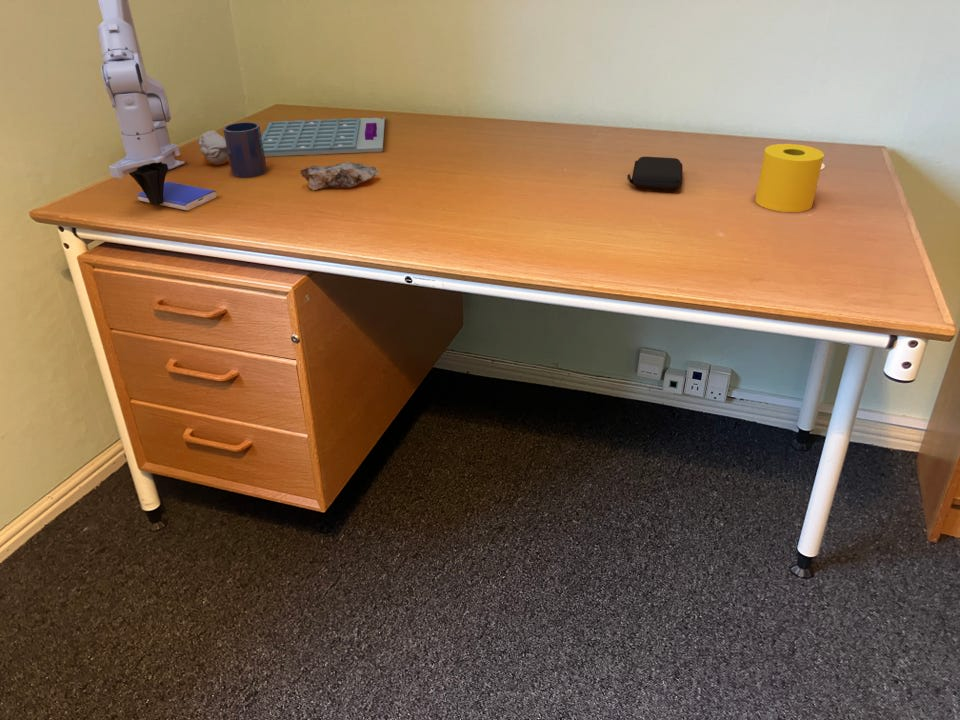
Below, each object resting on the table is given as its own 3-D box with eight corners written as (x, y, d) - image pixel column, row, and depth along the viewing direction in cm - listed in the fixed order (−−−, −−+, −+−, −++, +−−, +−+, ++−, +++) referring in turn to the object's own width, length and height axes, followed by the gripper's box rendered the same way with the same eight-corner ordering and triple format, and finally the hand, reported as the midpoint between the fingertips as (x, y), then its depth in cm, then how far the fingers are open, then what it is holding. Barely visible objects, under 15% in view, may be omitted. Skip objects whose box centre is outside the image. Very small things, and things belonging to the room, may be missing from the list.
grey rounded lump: (219, 157, 168) (212, 126, 164) (239, 163, 165) (233, 131, 161) (196, 164, 164) (189, 132, 160) (217, 170, 161) (210, 137, 157)
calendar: (272, 123, 191) (270, 114, 190) (385, 119, 193) (384, 109, 192) (254, 157, 168) (252, 146, 167) (382, 152, 170) (381, 141, 169)
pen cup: (224, 174, 158) (215, 129, 153) (247, 164, 164) (239, 120, 158) (251, 179, 155) (243, 133, 150) (274, 169, 161) (266, 124, 156)
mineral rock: (379, 176, 156) (377, 155, 153) (376, 189, 149) (374, 167, 147) (307, 178, 156) (304, 157, 153) (301, 192, 149) (298, 170, 147)
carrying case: (629, 167, 158) (625, 191, 146) (630, 153, 157) (626, 176, 145) (681, 170, 156) (681, 195, 144) (683, 156, 155) (683, 179, 143)
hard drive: (136, 193, 145) (184, 203, 140) (168, 180, 151) (215, 189, 146) (138, 201, 146) (186, 211, 141) (170, 188, 152) (217, 197, 147)
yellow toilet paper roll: (784, 215, 135) (795, 164, 130) (743, 198, 142) (752, 149, 137) (824, 205, 139) (836, 155, 134) (782, 189, 146) (792, 140, 141)
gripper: (122, 144, 128) (142, 220, 135) (184, 123, 139) (200, 193, 146) (92, 140, 130) (114, 214, 138) (156, 119, 141) (173, 188, 149)
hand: (156, 203), depth 142 cm, fingers closed
